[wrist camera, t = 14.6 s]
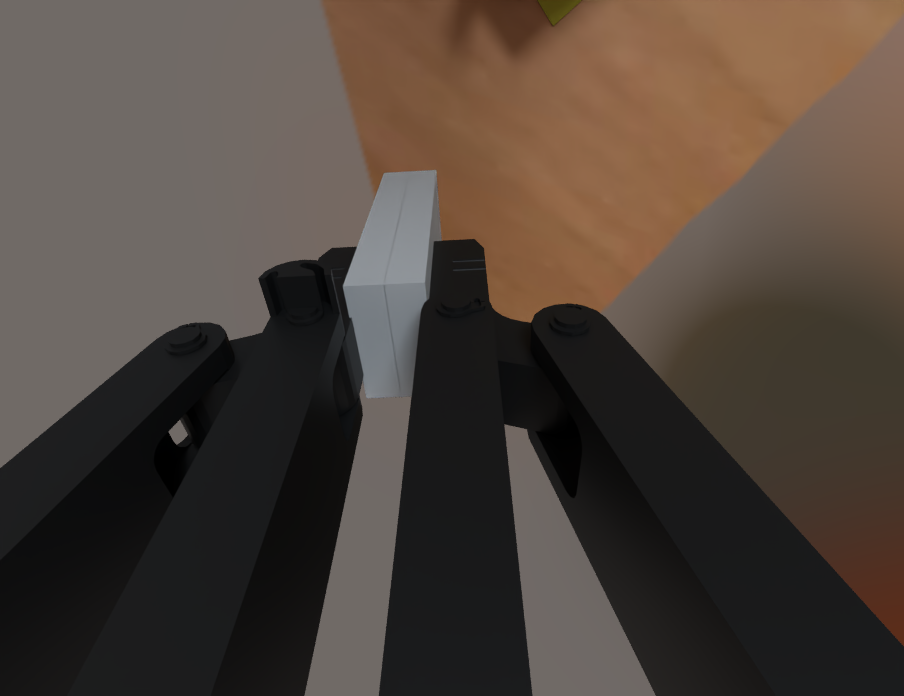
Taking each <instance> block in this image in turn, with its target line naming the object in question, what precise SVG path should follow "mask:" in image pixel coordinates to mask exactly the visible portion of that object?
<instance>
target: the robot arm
mask: <svg viewBox="0 0 904 696" xmlns="http://www.w3.org/2000/svg"><path fill="white" fill-rule="evenodd" d="M259 282H260V285H261V288H262V291H263V295H264V298H265V301H266V304H267V307H268V310H269V313H270V316H271V317H270V319H269V321H268V323H267V325H266V327H265V329H264V331H263V332H262V333H259V334H256V335H252V336H248V337H244V338H239V339H235V340H230V341H229V340H228V337H227V334H226V332H225V330H224V329H223V328H222V327H221V326H220V325H217V324H213V323H190V324H189V325H188V324H186V325H182V326H179V327H178V328H176V329H174V330H171V331H169V332H167V333H165V334H164V335H163V336H161V337H159V338H158V339H156V340H155V341H154V342H153V343H151V344H150V345H149V346H148V347H146V348H145V349H144V350H143V351H142V352H140V353H139V354H138V355H137V356H136V357H134V358H133V359H132V360H131V361H130V362H128V363H127V364H126V365H125V366H123V367H122V368H121V369H120V370H119V371H118V372H116V373H115V374H114V375H113V376H111V377H110V378H109V379H108V380H107V381H105V382H104V383H103V384H102V385H100V386H99V387H98V388H97V389H96V390H94V391H93V392H92V393H91V394H90V395H88V396H87V397H86V398H85V399H84V400H82V401H81V402H80V403H79V404H77V405H76V406H75V407H74V408H73V409H71V410H70V411H69V412H68V413H67V414H65V415H64V416H63V417H62V418H61V419H59V420H58V421H57V422H56V423H54V424H53V425H52V426H51V427H50V428H49V429H47V430H46V431H45V432H44V433H43V434H41V435H40V436H39V437H38V438H36V439H35V440H34V441H33V442H32V443H30V444H29V445H28V446H27V447H25V448H24V449H23V450H22V451H21V452H19V453H18V454H17V455H16V456H15V457H14V458H12V459H11V460H10V461H9V462H7V463H6V464H5V465H4V466H3V467H1V468H0V696H304V695H305V690H306V685H307V681H308V676H309V671H310V665H311V661H312V657H313V652H314V647H315V642H316V637H317V633H318V628H319V623H320V618H321V613H322V609H323V603H324V599H325V594H326V589H327V584H328V580H329V575H330V570H331V565H332V560H333V556H334V551H335V546H336V541H337V536H338V531H339V527H340V522H341V517H342V512H343V508H344V503H345V498H346V492H347V488H348V483H349V479H350V474H351V469H352V464H353V460H354V455H355V450H356V445H357V440H358V436H359V431H360V426H361V421H362V416H363V413H362V405H361V401H360V396H359V393H360V389H361V384H362V380H363V384H364V388H365V393H366V398H384V397H410V396H412V398H411V407H410V416H409V425H408V434H407V443H406V452H405V462H404V472H403V480H402V490H401V498H400V508H399V516H398V517H399V518H398V525H397V535H396V544H395V553H394V562H393V571H392V580H391V589H390V598H389V609H388V617H387V626H386V636H385V645H384V653H383V662H382V672H381V681H380V691H379V696H532V689H531V688H532V687H531V678H530V668H529V658H528V650H527V639H526V630H525V621H524V610H523V601H522V591H521V582H520V572H519V562H518V553H517V543H516V533H515V524H514V514H513V504H512V495H511V486H510V476H509V466H508V456H507V447H506V437H505V428H504V424H506V425H510V426H515V427H520V428H524V429H527V431H528V436H529V439H530V441H531V443H532V445H533V447H534V449H535V451H536V453H537V455H538V457H539V460H540V462H541V464H542V465H543V468H544V470H545V472H546V474H547V476H548V478H549V480H550V481H551V484H552V486H553V488H554V490H555V492H556V494H557V496H558V498H559V500H560V502H561V504H562V506H563V508H564V510H565V512H566V514H567V516H568V518H569V520H570V522H571V524H572V526H573V528H574V530H575V533H576V534H577V537H578V539H579V541H580V543H581V545H582V547H583V549H584V551H585V553H586V555H587V557H588V559H589V561H590V563H591V565H592V567H593V569H594V571H595V573H596V575H597V577H598V579H599V581H600V583H601V585H602V587H603V589H604V591H605V593H606V595H607V597H608V599H609V601H610V604H611V606H612V608H613V610H614V612H615V614H616V616H617V617H618V619H619V622H620V624H621V626H622V627H623V630H624V632H625V634H626V636H627V638H628V640H629V642H630V644H631V646H632V648H633V650H634V652H635V654H636V656H637V658H638V660H639V662H640V664H641V666H642V668H643V670H644V672H645V674H646V676H647V678H648V681H649V683H650V685H651V687H652V689H653V691H654V693H655V695H656V696H904V646H903V645H902V644H901V643H900V642H899V641H898V640H897V639H896V638H895V636H893V634H892V633H891V632H890V631H889V630H888V629H887V628H886V627H885V625H884V624H883V623H882V622H881V621H880V620H879V619H878V618H877V617H876V615H875V614H874V613H873V612H872V611H871V610H870V609H869V608H868V607H867V606H866V604H865V603H864V602H863V601H862V600H861V599H860V598H859V597H858V596H857V595H856V593H855V592H854V591H853V590H852V589H851V588H850V587H849V586H848V585H847V583H846V582H845V581H844V580H843V579H842V578H841V577H840V576H839V575H838V574H837V572H836V571H835V570H834V569H833V568H832V567H831V566H830V565H829V564H828V562H827V561H826V560H825V559H824V558H823V557H822V556H821V555H820V554H819V553H818V551H817V550H816V549H815V548H814V547H813V546H812V545H811V544H810V543H809V541H808V540H807V539H806V538H805V537H804V536H803V535H802V534H801V533H800V532H799V530H798V529H797V528H796V527H795V526H794V525H793V524H792V523H791V522H790V520H789V519H788V518H787V517H786V516H785V515H784V514H783V513H782V512H781V511H780V509H779V508H778V507H777V506H776V505H775V504H774V503H773V502H772V501H771V500H770V498H769V497H767V495H766V494H765V493H764V492H763V491H762V490H761V488H760V487H759V486H758V485H757V484H756V483H755V482H754V481H753V480H752V479H751V478H750V476H749V475H748V474H747V473H746V472H745V471H744V470H743V469H742V468H741V466H740V465H739V464H738V463H737V462H736V461H735V460H734V459H733V458H732V457H731V455H730V454H729V453H728V452H727V451H726V450H725V449H724V448H723V447H722V445H721V444H720V443H719V442H718V441H717V440H716V439H715V438H714V437H713V435H712V434H711V433H710V432H709V431H708V430H707V429H706V428H705V427H704V426H703V425H702V423H701V422H700V421H699V420H698V419H697V418H696V417H695V416H694V415H693V413H692V412H691V411H690V410H689V409H688V408H687V407H686V406H685V405H684V403H683V402H682V401H681V400H680V399H679V398H678V397H677V396H676V395H675V393H674V392H673V391H672V390H671V389H670V388H669V387H668V386H667V385H666V384H665V382H664V381H663V380H662V379H661V378H660V377H659V376H658V375H657V374H656V373H655V371H654V370H653V369H652V368H651V367H650V366H649V365H648V364H647V363H646V362H645V360H644V359H643V358H642V357H641V356H640V355H639V354H638V353H637V352H636V350H635V349H634V348H633V347H632V346H631V345H630V344H629V343H628V342H627V341H626V339H625V338H624V337H623V336H622V335H621V334H620V333H619V332H618V331H617V330H616V328H615V327H614V326H613V325H612V324H611V323H610V322H609V321H608V319H607V318H606V317H604V316H603V315H602V314H600V313H599V312H598V311H596V310H594V309H591V308H588V307H586V306H582V305H578V304H558V305H553V306H549V307H546V308H543V309H542V310H540V311H539V312H538V313H536V314H535V315H534V318H533V320H532V322H531V323H529V322H522V321H517V320H513V319H509V318H507V317H504V316H502V315H501V314H499V313H497V312H496V311H495V310H494V309H493V308H492V305H491V303H490V301H489V294H488V284H487V274H486V264H485V255H484V248H483V247H482V246H481V245H480V244H479V243H478V242H477V241H476V240H475V239H467V240H448V241H442V240H441V226H440V213H439V200H438V187H437V173H436V170H427V171H410V172H392V173H384V175H383V177H382V180H381V183H380V186H379V188H378V191H377V194H376V197H375V199H374V202H373V205H372V208H371V210H370V213H369V216H368V219H367V221H366V224H365V227H364V230H363V232H362V235H361V238H360V241H359V243H358V246H357V247H343V248H331V249H330V250H329V251H327V252H326V253H325V254H323V255H322V256H321V257H320V258H319V259H318V261H317V260H299V261H291V262H287V263H284V264H280V265H277V266H275V267H273V268H271V269H269V270H267V271H265V272H264V273H263V274H262V275H261V276H260V277H259ZM179 420H181V422H182V424H183V426H184V427H185V430H186V432H187V434H188V436H187V437H186V438H185V439H184V440H183V441H182V442H180V443H179V444H178V445H176V444H175V443H174V441H173V440H172V438H171V436H170V434H169V432H168V431H169V430H170V429H171V428H172V427H173V426H174V425H175V424H176V423H177V422H178V421H179Z"/></svg>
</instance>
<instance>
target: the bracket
mask: <svg viewBox="0 0 904 696" xmlns="http://www.w3.org/2000/svg"><path fill="white" fill-rule="evenodd" d="M537 1H538V2H539V4H540V6H541V7H542V9H543V10H544V12H545V14H546V15H547V17H548V19H549V20H550V22H551V24H552V25H553V26H554V25H555V24H556V23H557V22H558V21H559V20H561V19H562V18H563V17H564V16H565V15H566V14H567V13H568V12H569V11H570V10H572V9H573V8H574V7H575V6H576V5H577V4H578V3H579V2H580V1H582V0H537Z"/></svg>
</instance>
